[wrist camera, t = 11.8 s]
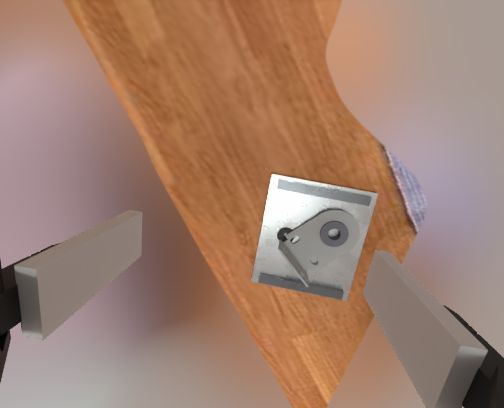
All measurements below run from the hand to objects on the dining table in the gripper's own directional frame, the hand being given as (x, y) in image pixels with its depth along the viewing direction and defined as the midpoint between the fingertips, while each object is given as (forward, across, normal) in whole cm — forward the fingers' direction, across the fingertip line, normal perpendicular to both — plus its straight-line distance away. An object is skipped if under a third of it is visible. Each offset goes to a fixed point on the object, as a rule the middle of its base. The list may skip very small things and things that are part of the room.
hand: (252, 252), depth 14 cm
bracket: (+20, +8, -6) cm, 23 cm away
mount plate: (+21, +7, -6) cm, 23 cm away
